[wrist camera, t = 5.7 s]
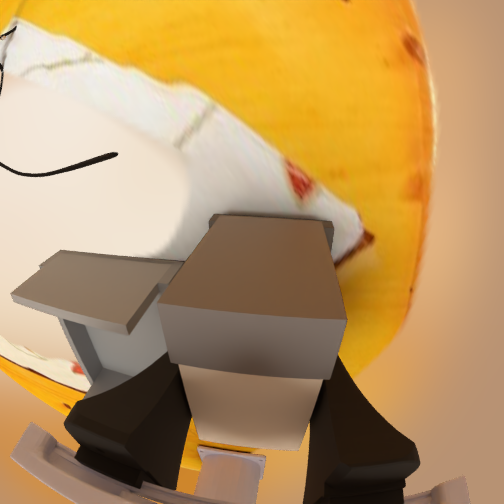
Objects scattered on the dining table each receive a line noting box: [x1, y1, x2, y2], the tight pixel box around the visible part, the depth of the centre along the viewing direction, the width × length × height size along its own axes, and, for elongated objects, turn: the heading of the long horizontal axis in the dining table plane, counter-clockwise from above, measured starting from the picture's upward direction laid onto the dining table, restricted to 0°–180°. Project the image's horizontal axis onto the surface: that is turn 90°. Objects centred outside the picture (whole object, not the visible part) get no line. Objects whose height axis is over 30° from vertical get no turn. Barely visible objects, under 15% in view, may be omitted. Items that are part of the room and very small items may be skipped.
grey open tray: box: [11, 250, 184, 399], centre depth 16 cm, size 12×10×6 cm
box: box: [157, 215, 347, 451], centre depth 12 cm, size 8×5×7 cm, turn 179°
